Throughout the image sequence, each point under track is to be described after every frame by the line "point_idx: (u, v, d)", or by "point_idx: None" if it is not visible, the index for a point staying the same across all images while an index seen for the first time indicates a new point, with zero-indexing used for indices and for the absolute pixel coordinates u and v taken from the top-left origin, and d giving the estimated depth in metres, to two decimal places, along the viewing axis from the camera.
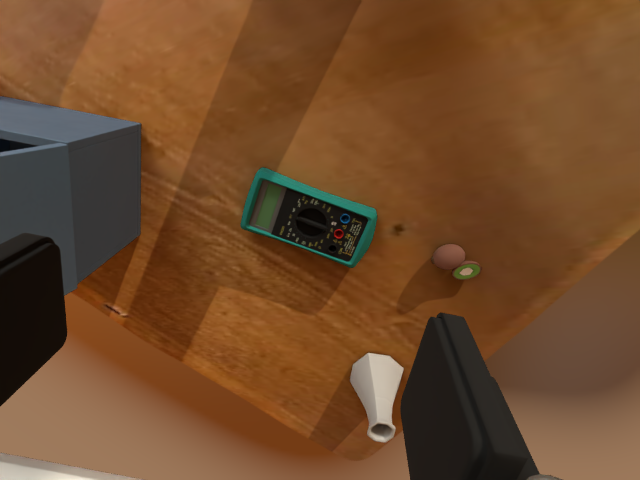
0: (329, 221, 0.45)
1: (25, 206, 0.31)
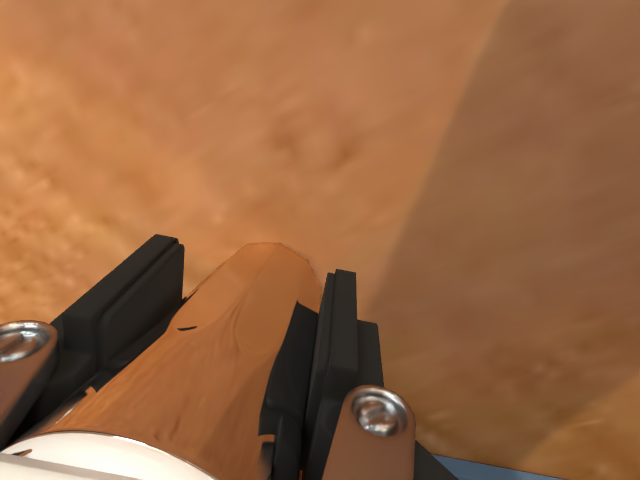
0: None
1: None
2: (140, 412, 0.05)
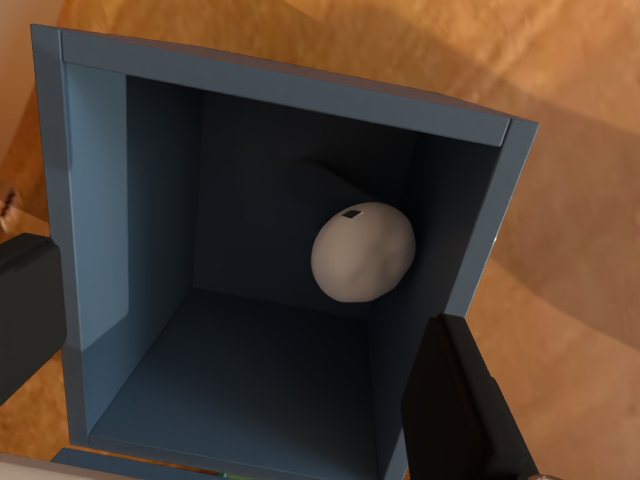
0: None
1: None
2: (366, 199, 0.16)
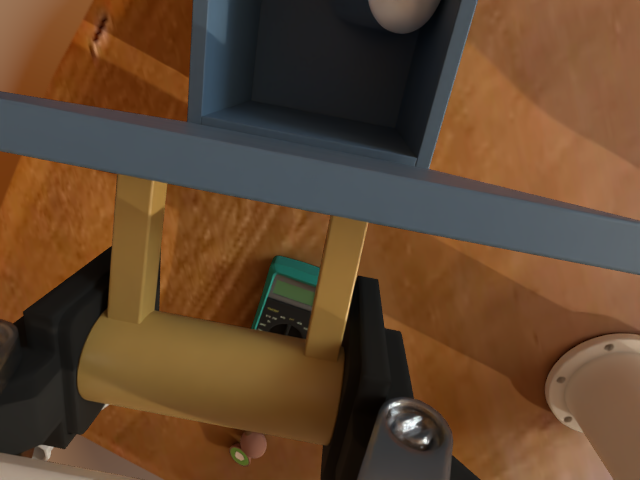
0: None
1: None
2: None
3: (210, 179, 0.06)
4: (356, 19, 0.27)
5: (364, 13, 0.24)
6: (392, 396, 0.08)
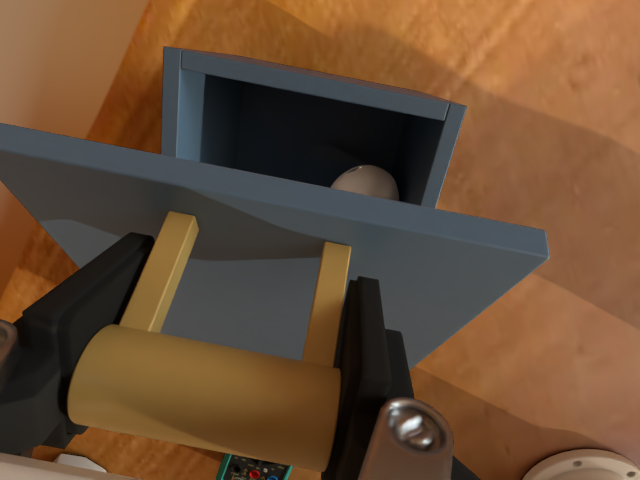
0: (268, 467, 0.42)
1: None
2: (364, 163, 0.24)
3: (248, 191, 0.09)
4: None
5: None
6: (393, 396, 0.08)
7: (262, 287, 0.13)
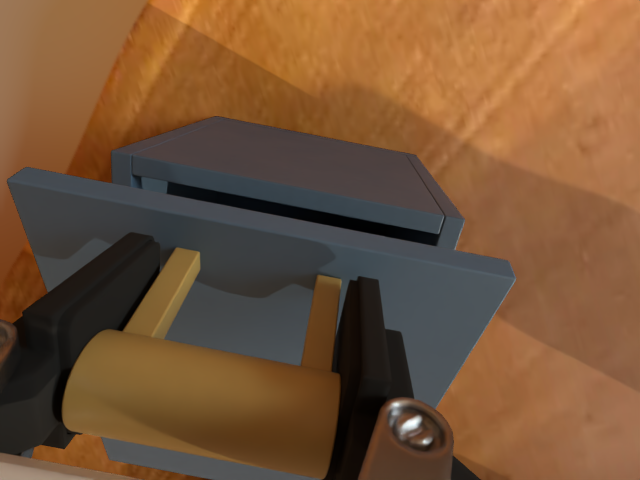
0: None
1: None
2: None
3: (252, 222, 0.11)
4: None
5: None
6: (393, 396, 0.08)
7: (252, 344, 0.14)
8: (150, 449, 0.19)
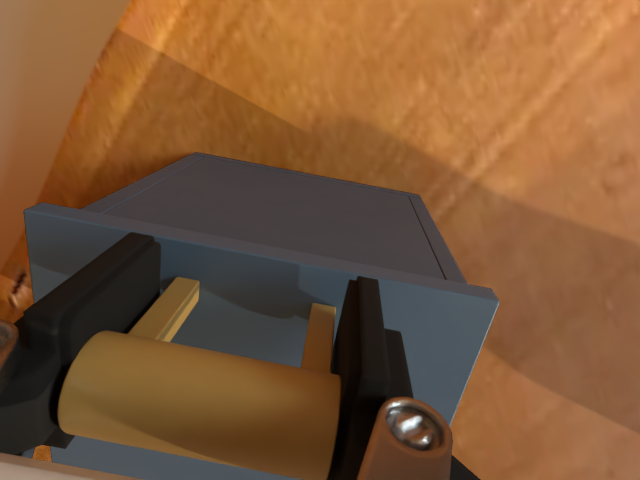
0: None
1: None
2: None
3: (252, 250, 0.12)
4: None
5: None
6: (392, 396, 0.08)
7: None
8: None
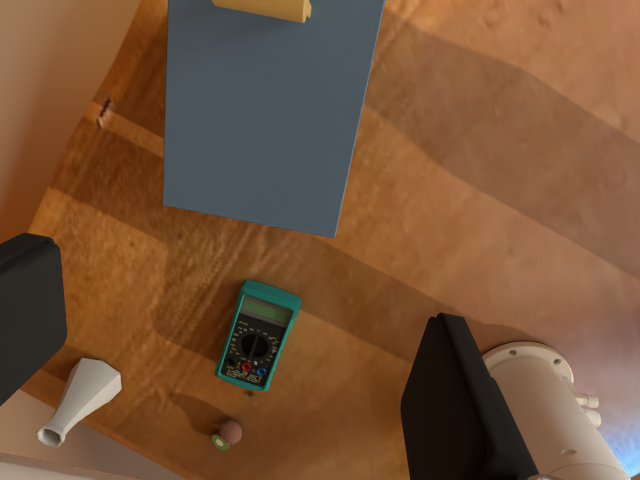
0: (257, 360, 0.51)
1: (291, 174, 0.30)
2: None
3: None
4: None
5: None
6: None
7: (267, 61, 0.27)
8: (194, 184, 0.31)
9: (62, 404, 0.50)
